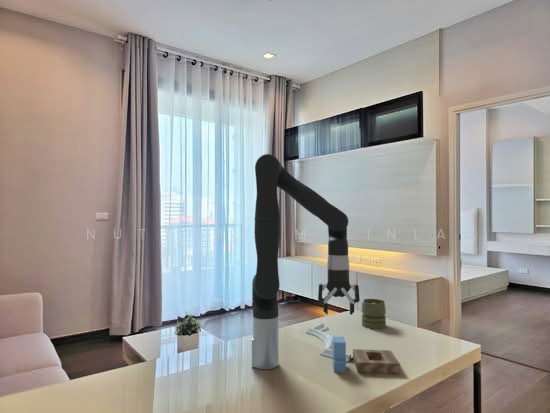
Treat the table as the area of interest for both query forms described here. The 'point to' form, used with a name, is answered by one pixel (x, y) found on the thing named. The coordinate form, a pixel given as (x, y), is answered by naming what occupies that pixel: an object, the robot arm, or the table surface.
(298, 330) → the table surface
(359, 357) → the tan square ring
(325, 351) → the molding
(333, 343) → the blue block
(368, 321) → the piston
